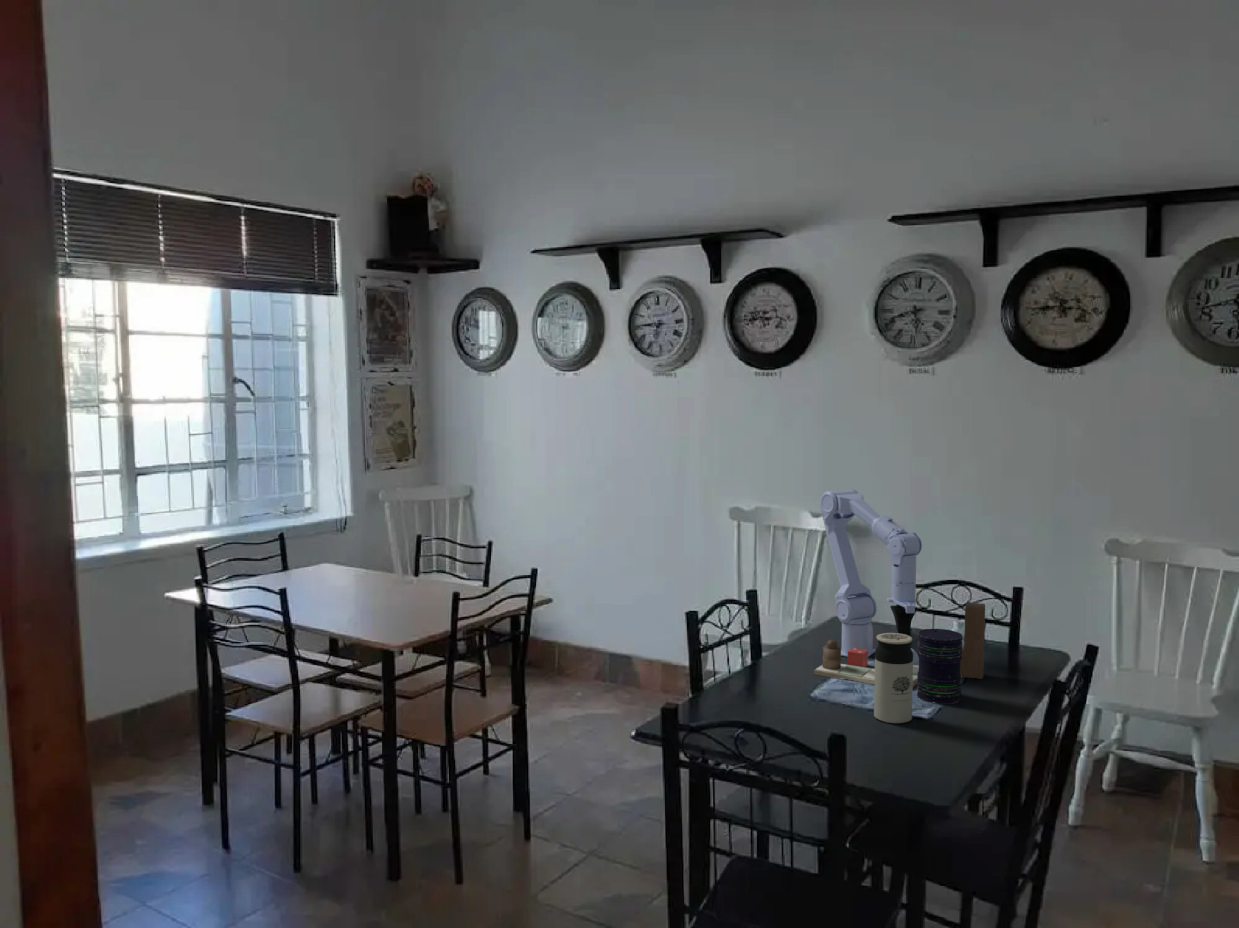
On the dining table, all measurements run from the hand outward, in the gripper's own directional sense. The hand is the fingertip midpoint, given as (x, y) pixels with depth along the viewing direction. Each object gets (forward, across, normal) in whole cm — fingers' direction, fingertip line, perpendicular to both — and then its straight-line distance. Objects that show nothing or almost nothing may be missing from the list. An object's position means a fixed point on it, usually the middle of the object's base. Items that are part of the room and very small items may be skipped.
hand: (902, 634), depth 249 cm
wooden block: (+10, +3, +14) cm, 18 cm away
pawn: (+8, +1, -18) cm, 20 cm away
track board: (+9, +5, -10) cm, 15 cm away
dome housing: (+9, 0, +1) cm, 9 cm away
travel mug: (+10, +34, -10) cm, 37 cm away
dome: (+9, 0, +1) cm, 9 cm away
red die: (+9, -4, -10) cm, 15 cm away
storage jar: (+10, +20, +4) cm, 22 cm away
